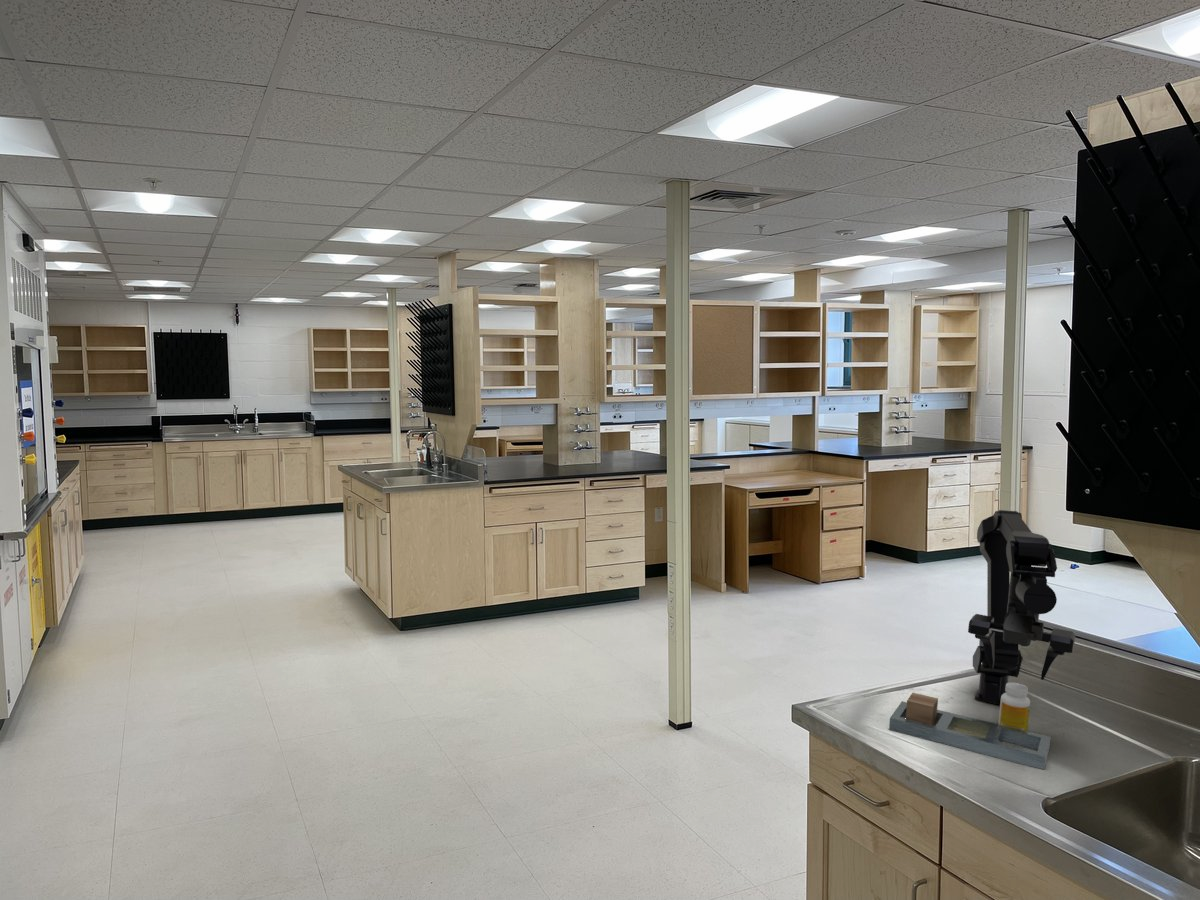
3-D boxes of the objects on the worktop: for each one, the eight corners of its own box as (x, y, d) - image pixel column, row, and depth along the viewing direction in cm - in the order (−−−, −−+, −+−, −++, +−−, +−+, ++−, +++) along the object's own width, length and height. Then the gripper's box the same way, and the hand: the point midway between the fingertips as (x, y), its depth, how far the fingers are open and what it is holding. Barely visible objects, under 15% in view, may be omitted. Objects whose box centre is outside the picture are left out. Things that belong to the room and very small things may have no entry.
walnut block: (910, 720, 179) (912, 692, 178) (935, 726, 176) (938, 698, 175) (904, 728, 174) (907, 700, 174) (930, 735, 172) (933, 706, 171)
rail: (900, 712, 182) (901, 701, 182) (1049, 749, 167) (1050, 736, 167) (889, 729, 174) (890, 717, 173) (1044, 769, 159) (1045, 756, 158)
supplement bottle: (1030, 739, 171) (1035, 692, 170) (1001, 736, 172) (1006, 689, 171) (1023, 728, 176) (1027, 682, 175) (994, 724, 177) (999, 679, 176)
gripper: (966, 599, 169) (959, 675, 171) (1074, 618, 159) (1065, 699, 161) (976, 586, 178) (969, 658, 180) (1079, 603, 168) (1070, 680, 170)
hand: (1016, 673), depth 173 cm, fingers open, 9 cm apart
